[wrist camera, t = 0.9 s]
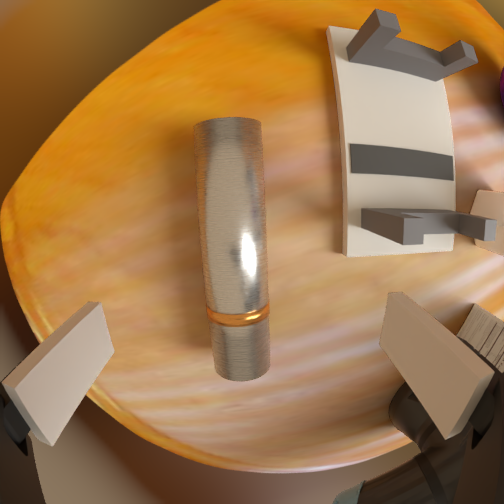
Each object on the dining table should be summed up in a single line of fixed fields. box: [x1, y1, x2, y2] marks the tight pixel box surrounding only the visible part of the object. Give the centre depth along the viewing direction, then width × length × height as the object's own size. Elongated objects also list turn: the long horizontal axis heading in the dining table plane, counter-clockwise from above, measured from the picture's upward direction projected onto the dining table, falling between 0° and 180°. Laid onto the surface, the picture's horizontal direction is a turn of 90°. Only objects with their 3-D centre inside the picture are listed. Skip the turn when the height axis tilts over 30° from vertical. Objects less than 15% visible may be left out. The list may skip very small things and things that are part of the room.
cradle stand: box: [326, 9, 497, 257], centre depth 20 cm, size 26×15×10 cm, turn 3°
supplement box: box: [456, 304, 504, 373], centre depth 23 cm, size 10×9×17 cm
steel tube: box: [194, 117, 270, 381], centre depth 25 cm, size 24×6×6 cm, turn 3°
